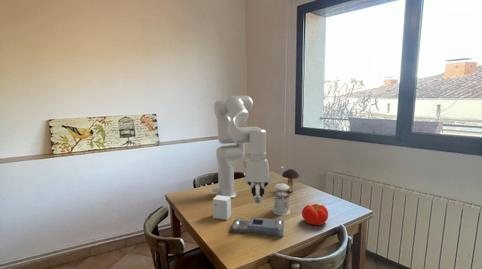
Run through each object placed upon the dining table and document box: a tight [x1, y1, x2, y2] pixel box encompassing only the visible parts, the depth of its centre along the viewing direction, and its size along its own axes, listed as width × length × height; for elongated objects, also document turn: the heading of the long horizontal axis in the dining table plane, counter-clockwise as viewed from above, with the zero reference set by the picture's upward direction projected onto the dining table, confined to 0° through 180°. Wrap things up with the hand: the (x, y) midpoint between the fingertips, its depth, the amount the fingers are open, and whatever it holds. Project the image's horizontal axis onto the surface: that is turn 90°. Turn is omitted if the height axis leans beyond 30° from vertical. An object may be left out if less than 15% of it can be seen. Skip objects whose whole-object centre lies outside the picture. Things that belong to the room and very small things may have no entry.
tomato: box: [301, 203, 329, 226], centre depth 132 cm, size 13×12×8 cm
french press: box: [271, 166, 291, 216], centre depth 145 cm, size 10×12×25 cm
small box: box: [212, 195, 232, 221], centre depth 139 cm, size 8×6×10 cm
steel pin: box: [254, 182, 262, 204], centre depth 123 cm, size 3×3×10 cm
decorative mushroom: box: [281, 168, 300, 193], centre depth 172 cm, size 11×11×15 cm
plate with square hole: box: [230, 216, 285, 238], centre depth 126 cm, size 24×9×5 cm, turn 79°
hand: (257, 195), depth 124 cm, fingers closed on steel pin, 3 cm apart
